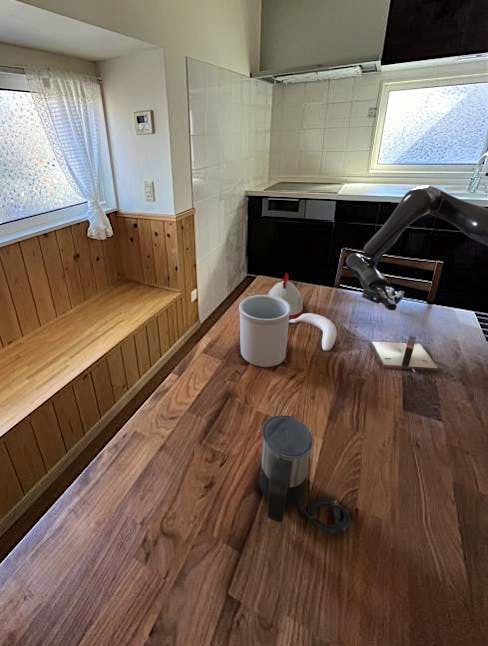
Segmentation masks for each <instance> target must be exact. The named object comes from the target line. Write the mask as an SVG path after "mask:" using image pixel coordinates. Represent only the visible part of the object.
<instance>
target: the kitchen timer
mask: <svg viewBox="0 0 488 646" xmlns="http://www.w3.org/2000/svg"><path fill="white" fill-rule="evenodd" d="M289 277H290V276H289V273H287V272H286V273H285V274H284V277H283V280H282V281H279V282H278V283H276V284H275V285H274V286H272V288H270V289H269V290H268V292H267V294H266V295H272V296H276V297H279V298H281V299H283V300H285V301H286V302H287V303H288V304H289V306H290V315H289V320H291V319H296V318H298V317H299V316H300V315H302V314H303V311H304V308H303V307H304V302H303V300H304V299H303V293H302V292H300V291H299V289H298V288H297V286H296V285H295V284H294V283H292V282H290V281H289Z"/></svg>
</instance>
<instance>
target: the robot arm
mask: <svg viewBox="0 0 488 646" xmlns="http://www.w3.org/2000/svg"><path fill="white" fill-rule="evenodd" d="M426 215H428V216H429V215H430V216H433V217H436V218H439V219H441V220H443V221H444V220H445V221H447V222H449V223H450V224H451V225H453V226H454V227H456V228H457V229H459V231H461V232H462V233H464V234H465V235H466V236H468V237H469V238H470V239H473V240H474V241H476V242H478V243H481V244H482V245H485V246H488V208H486V207H484V206H480V205H477V204H475V203H471V202H468V201H464V200H462V199H460V198H457V197H455V196H453V195H451V194H450V193H448V192H445V191H444V190H441V189H439V188H437V187H435V186H432V185H421V186H418V187H416V188H415V187H414V188H413V189H410V190H408V191H407V192H406V193H405V194H404V196H402V198H401V200H400V201H399V203H398V205H397V206H396V208H395V209H394V211H393V212H392V213H391V215H390V216H389V217H388V219H387V221H386V222H385V223H384V224H383V225H382V226H381V227H380V228H379V229H378V230H377V232H376V233H375V234H374V235H373V236H372V237H371V238H370V239H369V240H368V241H367V242H366V243H365V245H364V247H363V249H362V250H363V253H364V254H365V255H366V256H364V255H363V254H360V253H357V252H355V253H351V254H349V255H347V257H346V259H345V267H346V269H347V271H349V273H351V274H352V275H353V276H354V277H356V278H357V279H358V281H359V282H360V284H361V286H362V288H363V290H362V294H361V298H363V299H365V300H368V301H370V302H373V303H374V304H378V305H379V304H381V305H383V306H384V307H385V308H386V309H387V310H388V311H396V310H397V306H398V304H399V303H400V302H401V301H402V300H403V298H404V295H405V291H404V290H399V291H397V290H396V289H395V288H393V287H392V285H391V283H390V282H389V280H388V279H387V278H386V277H385V276H384V274H383V273H381V271H379V269H377V265H378V263H379V262H380V260H381V259H382V257H383V256H384V255H385V254H386V253H387V252H388V251H389V250H390V249H391V248H392V247H393V246H394V245H395V243H396V242H397V241H398V239H399V237H400V236H401V235H402V234H403V232H404V231H405V230H406V229H407V228H408V227H409V226H410V225H411V224H413V223H414V222H415V221H417V220H418V219H419V218H421V217H423V216H426Z"/></svg>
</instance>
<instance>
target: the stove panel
mask: <svg viewBox="0 0 488 646" xmlns="http://www.w3.org/2000/svg"><path fill="white" fill-rule="evenodd" d="M370 345H371V347H372V349H373V351H374V353H375V355H376V357H377V358H378V360H379V362H380V364H381V366H382V368H384V369H385V368H386V369H400V370H412V372H413V373H416V371H429V372H438V371H439V367H438V365H436V363H435V361H434V360H433V359H432V358H431V356H430V355H429V354H428V352H427V351H426V350H425V347H423V346H422V344H420V343H414V348H413V352H412V355H411V359H410V362H409V366H408V367H407V366H404V365H402V362H403V358H404V354H405V350H406V346H407V342H406V343H403V342H387V341H371V343H370Z"/></svg>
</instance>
